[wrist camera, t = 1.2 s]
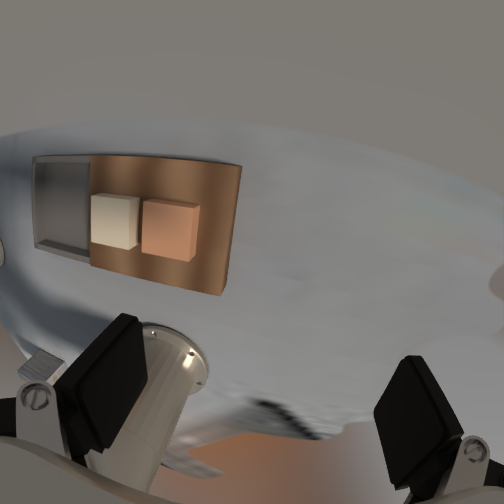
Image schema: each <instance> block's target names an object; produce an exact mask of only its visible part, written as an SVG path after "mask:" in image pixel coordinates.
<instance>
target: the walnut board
mask: <svg viewBox="0 0 504 504" xmlns="http://www.w3.org/2000/svg"><path fill="white" fill-rule="evenodd" d="M241 172H242V166H237V165H230V164H222V163H214V162H205V161H195V160H185V159H174V158H161V157H145V156H125V155H91V164H90V180H89V249H90V265H91V266H94V267H98V268H101V269H105V270H109V271H113V272H117V273H121V274H125V275H129V276H133V277H137V278H141V279H145V280H149V281H153V282H157V283H162V284H166V285H170V286H175V287H179V288H184V289H188V290H193V291H198V292H202V293H207V294H212V295H217V296H221V294H222V292H223V290H224V288H225V286H226V282H227V274H228V266H229V259H230V251H231V243H232V236H233V228H234V221H235V214H236V206H237V199H238V192H239V185H240V178H241ZM100 193H107V194H116V195H124V196H133V197H140V205H139V227H138V245H136V246H135V247H133V248H131V249H130V250H126V249H121V248H117V247H112V246H107V245H103V244H98V243H94V242H91V196H92V195H96V194H100ZM149 199H161V200H168V201H176V202H183V203H190V204H197V205H200V211H199V221H198V231H197V242H196V253H195V256H194V257H193V258H192V259H191V260H190V261H189V262H187V261H182V260H177V259H172V258H167V257H162V256H157V255H153V254H148V253H143V252H142V219H143V201H146V200H149Z"/></svg>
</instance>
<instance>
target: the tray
mask: <svg viewBox="0 0 504 504" xmlns="http://www.w3.org/2000/svg"><path fill="white" fill-rule="evenodd" d="M90 164H91V155H57V156H38V157H33V163H32V220H33V235H34V245H35V248H37V249H40V250H44V251H47V252H50V253H54V254H57V255H60V256H64V257H67V258H71V259H74V260H78V261H82V262H85V263H89V264H90V249H89V180H90Z"/></svg>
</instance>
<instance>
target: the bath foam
mask: <svg viewBox="0 0 504 504" xmlns="http://www.w3.org/2000/svg"><path fill="white" fill-rule="evenodd" d="M3 262H4V250H3V246H2V243H1V240H0V266H2V265H3Z"/></svg>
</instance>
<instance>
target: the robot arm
mask: <svg viewBox="0 0 504 504" xmlns="http://www.w3.org/2000/svg"><path fill="white" fill-rule="evenodd" d="M207 378H208V365H207V362H206V359H205V358H204V356H203V354H202V352H201V351H200V350H199V349H198V348H197V346H196V345H195V344H193V343H192V342H191V341H190V340H189V339H187V338H186V337H185V336H183V335H182V334H180V333H178V332H176V331H174V330H171V329H168V328H165V327H161V326H144V327H142V323H141V322H139V320H138V318H137V317H136V316H132V315H128V314H125V313H121V314H120V315H119V316H118V317H117V318H116V319H115V320H114V321H113V322H112V323H111V324H110V325H109V326H108V327H107V328H106V329H105V330H104V331H103V332H102V333H101V334H100V335H99V336H98V337H97V338H96V339H95V340H94V341H93V342H92V343H91V344H90V345H89V346H88V347H87V349H86V350H85V351H84V352H83V353H82V354H81V355H80V356H79V357H78V358H77V359H76V360H75V361H74V362H73V363H72V364H71V366H70V367H69V368H68V369H67V370H66V371H65V372H64V373H63V374H62V375H61V376H60V378H59V379H58V380H57V381H56V382H55V384H54V385H53V386H52V385H50V384H49V383H48V382H45V381H42V380H32V381H29V382H27V383H25V384H23V385H22V386H21V387H20V388H19V390H18V392H17V396H16V397H14V398H4V399H0V504H181V503H177V502H173V501H170V500H166V499H163V498H160V497H157V496H154V495H151V494H149V493H150V490H151V487H152V484H153V481H154V479H155V476H156V474H157V471H158V469H159V466H160V464H161V461H162V459H163V457H164V454H165V452H166V449H167V447H168V444H169V442H170V439H171V437H172V434H173V432H174V429H175V427H176V425H177V422H178V420H179V417H180V415H181V412H182V410H183V407H184V405H185V402H186V400H187V397H188V395H191V394H194V393H196V392H198V391H199V390H201V389H202V388H203V386H204V385H205V383H206V380H207ZM374 419H375V423H376V426H377V430H378V434H379V437H380V441H381V445H382V449H383V453H384V457H385V461H386V465H387V469H388V473H389V478H390V482H391V483H392V484H394V487H395V490H400V489H405V488H408V487H410V493H409V495H408V497H407V498H406V500H405V502H404V504H504V465H502V464H500V463H497V462H495V461H493V460H491V459H489V457H490V450H489V447H488V445H487V443H486V442H485V441H484V440H483V439H482V438H480V437H478V436H468V437H465V438H464V439H463V440H462V439H461V436H462V435H463V434H464V431H463V429H462V427H461V425H460V423H459V421H458V419H457V417H456V415H455V414H454V411H453V409H452V408H451V406H450V404H449V402H448V401H447V398H446V397H445V395H444V393H443V391H442V390H441V388H440V386H439V384H438V383H437V381H436V379H435V377H434V376H433V374H432V372H431V371H430V369H429V367H428V366H427V364H426V362H425V361H424V359H423V358H422V356H412V355H408V356H406V357H405V358H404V359H402V360H401V361H400V363H399V365H398V367H397V369H396V371H395V373H394V375H393V376H392V378H391V380H390V382H389V384H388V386H387V387H386V389H385V391H384V393H383V395H382V396H381V398H380V400H379V401H378V403H377V405H376V406H375V408H374Z"/></svg>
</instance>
